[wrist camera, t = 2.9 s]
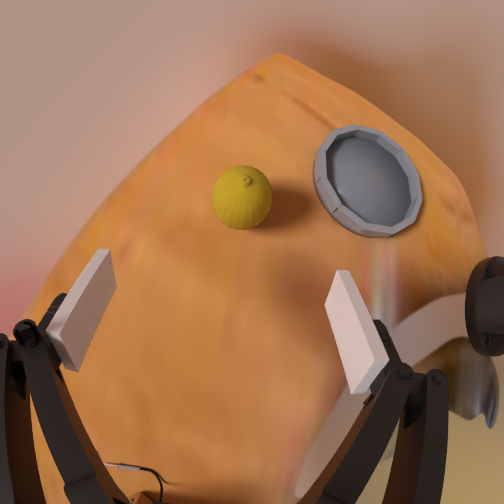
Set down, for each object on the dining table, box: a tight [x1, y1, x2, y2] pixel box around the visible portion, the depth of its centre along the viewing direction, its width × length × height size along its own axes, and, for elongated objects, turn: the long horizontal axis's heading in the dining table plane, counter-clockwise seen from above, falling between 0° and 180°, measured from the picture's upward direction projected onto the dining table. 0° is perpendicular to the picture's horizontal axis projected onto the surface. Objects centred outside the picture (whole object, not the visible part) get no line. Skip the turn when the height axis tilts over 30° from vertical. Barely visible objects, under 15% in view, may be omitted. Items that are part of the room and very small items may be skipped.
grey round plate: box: [313, 124, 423, 238], centre depth 31 cm, size 14×14×2 cm
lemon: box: [212, 166, 273, 230], centre depth 26 cm, size 6×6×8 cm
